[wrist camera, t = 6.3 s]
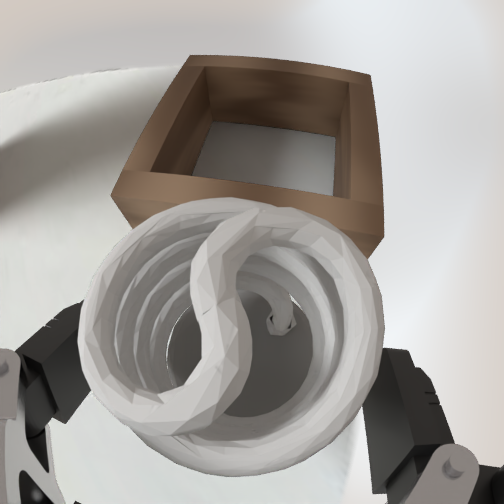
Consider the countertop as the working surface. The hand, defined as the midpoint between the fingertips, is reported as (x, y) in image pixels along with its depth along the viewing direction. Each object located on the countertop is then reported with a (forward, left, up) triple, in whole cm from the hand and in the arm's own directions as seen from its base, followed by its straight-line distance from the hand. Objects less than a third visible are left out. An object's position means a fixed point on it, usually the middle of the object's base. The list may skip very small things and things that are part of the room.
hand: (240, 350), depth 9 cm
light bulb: (0, 0, -7) cm, 7 cm away
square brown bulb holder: (-8, +8, -7) cm, 13 cm away
